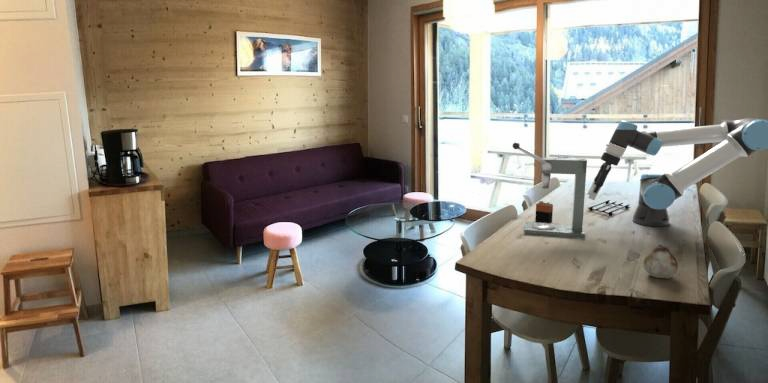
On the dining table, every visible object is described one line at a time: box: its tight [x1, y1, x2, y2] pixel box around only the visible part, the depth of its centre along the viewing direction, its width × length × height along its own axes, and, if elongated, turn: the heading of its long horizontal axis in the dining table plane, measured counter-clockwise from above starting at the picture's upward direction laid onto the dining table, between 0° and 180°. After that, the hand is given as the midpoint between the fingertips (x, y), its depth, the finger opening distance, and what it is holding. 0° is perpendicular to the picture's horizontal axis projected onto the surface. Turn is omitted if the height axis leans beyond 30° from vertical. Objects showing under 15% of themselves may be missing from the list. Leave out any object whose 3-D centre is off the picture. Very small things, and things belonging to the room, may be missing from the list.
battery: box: [534, 200, 554, 223], centre depth 233 cm, size 4×7×10 cm, turn 48°
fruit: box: [643, 244, 679, 279], centre depth 166 cm, size 10×9×12 cm
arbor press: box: [512, 141, 588, 239], centre depth 216 cm, size 32×14×40 cm, turn 72°
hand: (590, 197), depth 223 cm, fingers open, 13 cm apart
